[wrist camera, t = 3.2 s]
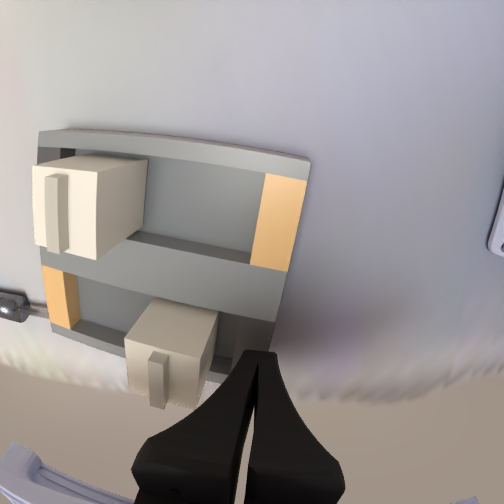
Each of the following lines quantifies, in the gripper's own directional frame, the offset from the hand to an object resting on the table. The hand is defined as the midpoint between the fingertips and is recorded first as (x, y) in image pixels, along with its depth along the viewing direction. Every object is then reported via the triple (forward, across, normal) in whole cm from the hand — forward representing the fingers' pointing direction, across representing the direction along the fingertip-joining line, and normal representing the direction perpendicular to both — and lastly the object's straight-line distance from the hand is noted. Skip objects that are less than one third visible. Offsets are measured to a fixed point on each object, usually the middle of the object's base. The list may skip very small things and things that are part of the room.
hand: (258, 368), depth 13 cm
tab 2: (+2, +4, 0) cm, 4 cm away
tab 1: (+2, +7, -7) cm, 10 cm away
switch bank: (+3, +5, -4) cm, 7 cm away
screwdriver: (+3, +16, +1) cm, 16 cm away
